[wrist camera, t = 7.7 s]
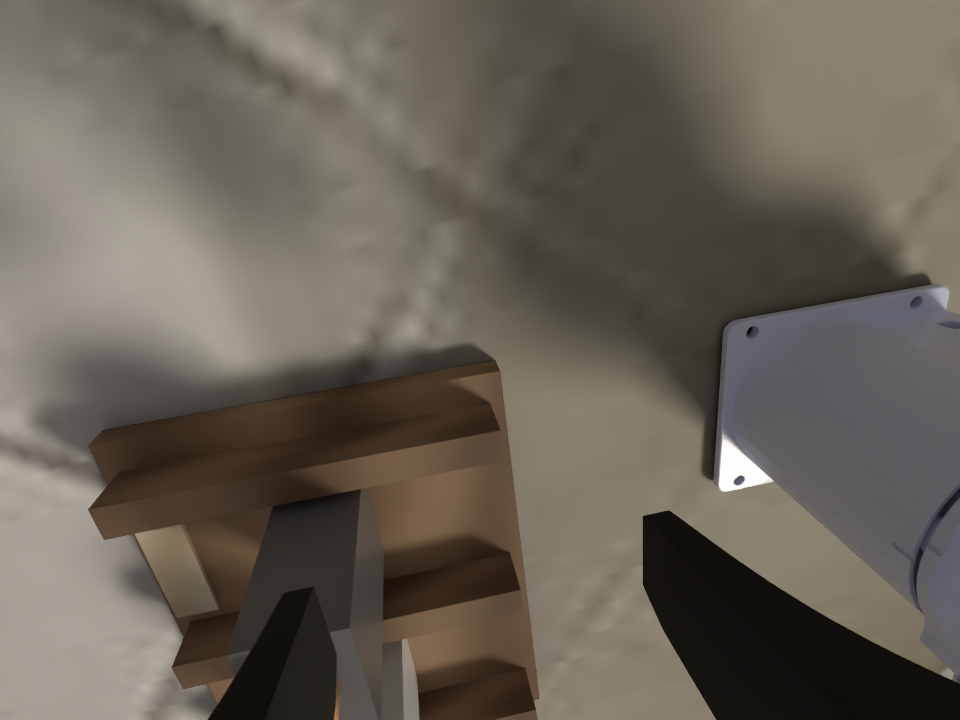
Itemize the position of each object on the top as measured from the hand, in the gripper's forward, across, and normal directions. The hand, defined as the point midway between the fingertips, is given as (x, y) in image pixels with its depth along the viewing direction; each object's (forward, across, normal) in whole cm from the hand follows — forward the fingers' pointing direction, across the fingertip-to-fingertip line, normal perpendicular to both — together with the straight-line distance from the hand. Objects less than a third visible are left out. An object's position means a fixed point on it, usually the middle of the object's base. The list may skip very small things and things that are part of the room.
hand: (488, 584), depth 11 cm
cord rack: (+9, +5, +8) cm, 13 cm away
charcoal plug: (+8, +5, +4) cm, 11 cm away
